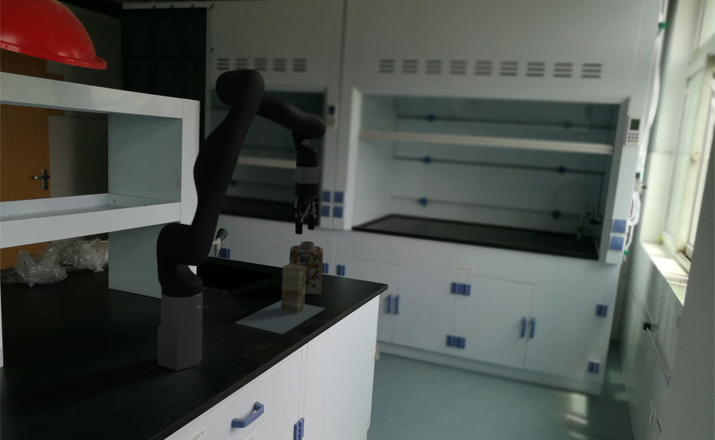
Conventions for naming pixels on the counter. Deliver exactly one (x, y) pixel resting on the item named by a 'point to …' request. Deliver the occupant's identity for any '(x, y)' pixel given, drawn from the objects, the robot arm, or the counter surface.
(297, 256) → the decorative jar
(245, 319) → the mat
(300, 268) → the maple block
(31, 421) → the counter surface
